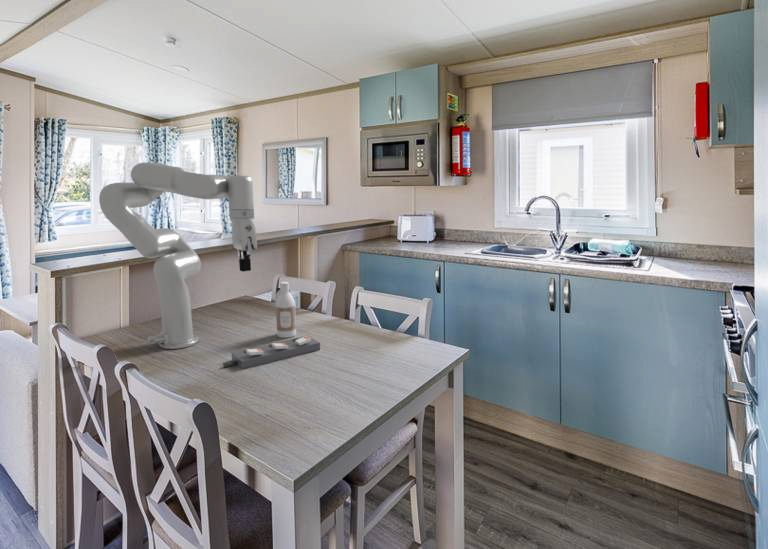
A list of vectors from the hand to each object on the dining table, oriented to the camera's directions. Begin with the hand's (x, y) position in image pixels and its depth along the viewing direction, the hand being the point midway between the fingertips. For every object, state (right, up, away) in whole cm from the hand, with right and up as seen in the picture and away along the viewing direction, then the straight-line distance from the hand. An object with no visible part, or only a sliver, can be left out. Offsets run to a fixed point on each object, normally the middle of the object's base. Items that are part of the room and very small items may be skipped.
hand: (245, 270), depth 150 cm
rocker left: (+5, -26, -8) cm, 28 cm away
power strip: (+9, -28, -1) cm, 29 cm away
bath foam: (+10, -24, +19) cm, 32 cm away
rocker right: (+19, -24, +3) cm, 30 cm away
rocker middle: (+12, -25, -2) cm, 28 cm away
